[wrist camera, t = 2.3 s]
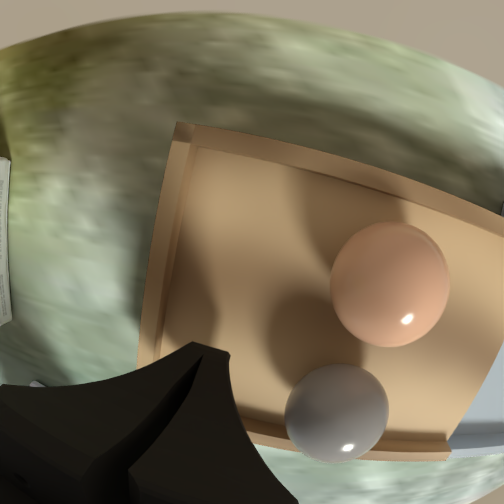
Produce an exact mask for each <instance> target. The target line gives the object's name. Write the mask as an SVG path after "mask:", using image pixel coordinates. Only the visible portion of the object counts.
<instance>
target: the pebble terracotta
mask: <svg viewBox="0 0 504 504" xmlns="http://www.w3.org/2000/svg"><path fill="white" fill-rule="evenodd" d="M449 293H450V273H449V268H448V264H447V261H446V259H445V257H444V254H443V252H442V250H441V249H440V247H439V246H438V244H437V243H436V242H435V241H434V240H433V239H432V238H431V237H430V236H429V235H428V234H427V233H425V232H424V231H422V230H421V229H419V228H417V227H415V226H413V225H410V224H407V223H403V222H395V221H386V222H380V223H375V224H372V225H370V226H367V227H365V228H363V229H361V230H360V231H358V232H357V233H355V234H354V235H353V236H352V237H351V238H350V239H348V241H347V242H346V243H345V244H344V245H343V247H342V248H341V250H340V251H339V253H338V255H337V257H336V259H335V261H334V264H333V267H332V271H331V276H330V294H331V301H332V304H333V307H334V310H335V312H336V314H337V316H338V318H339V320H340V321H341V323H342V324H343V325H344V327H345V328H346V329H347V330H348V331H349V332H350V333H352V334H353V335H354V336H355V337H357V338H358V339H360V340H362V341H364V342H366V343H368V344H371V345H375V346H379V347H398V346H403V345H406V344H409V343H412V342H414V341H416V340H418V339H419V338H421V337H422V336H424V335H425V334H427V333H428V332H429V331H430V330H431V329H432V328H433V327H434V326H435V325H436V323H437V322H438V320H439V319H440V317H441V316H442V314H443V312H444V310H445V307H446V305H447V301H448V298H449Z"/></svg>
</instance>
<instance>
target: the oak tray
mask: <svg viewBox="0 0 504 504" xmlns="http://www.w3.org/2000/svg"><path fill="white" fill-rule="evenodd" d="M386 221H395V222H403V223H407V224H410V225H413V226H415V227H417V228H419V229H421V230H422V231H424V232H425V233H427V234H428V235H429V236H430V237H431V238H432V239H433V240H434V241H435V242H436V243H437V244H438V246H439V247H440V249H441V250H442V252H443V254H444V257H445V259H446V261H447V264H448V268H449V273H450V293H449V298H448V301H447V305H446V307H445V310H444V312H443V314H442V316H441V317H440V319H439V320H438V322H437V323H436V325H435V326H434V327H433V328H432V329H431V330H430V331H429V332H428V333H427V334H425V335H424V336H422V337H421V338H419V339H418V340H416V341H414V342H412V343H409V344H406V345H403V346H398V347H379V346H375V345H371V344H368V343H366V342H364V341H362V340H360V339H358V338H357V337H355V336H354V335H353V334H352V333H350V332H349V331H348V330H347V329H346V328H345V327H344V325H343V324H342V323H341V321H340V320H339V318H338V316H337V314H336V312H335V310H334V307H333V304H332V301H331V294H330V276H331V271H332V267H333V264H334V261H335V259H336V257H337V255H338V253H339V251H340V250H341V248H342V247H343V245H344V244H345V243H346V242H347V241H348V239H350V238H351V237H352V236H353V235H354V234H355V233H357V232H358V231H360V230H361V229H363V228H365V227H367V226H370V225H372V224H375V223H380V222H386ZM192 341H193V342H197V343H200V344H203V345H207V346H210V347H214V348H217V349H221V350H224V351H228V352H229V354H230V355H231V357H230V361H229V372H230V380H231V386H232V391H233V395H234V399H235V403H236V406H237V409H238V412H239V415H240V418H241V420H242V422H243V425H244V427H245V429H246V431H247V433H248V435H249V437H250V439H251V441H252V443H254V444H259V445H264V446H268V447H273V448H279V449H284V450H290V451H295V452H300V451H299V450H298V449H297V448H296V447H295V446H294V445H293V443H292V442H291V440H290V438H289V436H288V434H287V431H286V427H285V421H284V412H285V405H286V402H287V399H288V397H289V395H290V392H291V391H292V389H293V388H294V386H295V385H296V384H297V383H298V382H299V380H301V379H302V378H303V377H304V376H305V375H306V374H308V373H309V372H311V371H313V370H314V369H316V368H319V367H321V366H325V365H328V364H335V363H346V364H352V365H356V366H359V367H361V368H364V369H365V370H367V371H369V372H370V373H371V374H373V375H374V376H375V377H376V378H377V379H378V380H379V381H380V383H381V384H382V386H383V388H384V389H385V392H386V394H387V397H388V402H389V418H388V423H387V426H386V428H385V431H384V433H383V435H382V436H381V438H380V439H379V441H378V442H377V443H376V444H375V445H374V446H373V447H372V448H371V449H370V450H369V451H368V452H366V453H365V454H364V455H362V456H360V457H358V458H356V459H361V460H377V461H446V459H447V458H448V457H449V455H450V454H451V453H452V450H451V448H450V447H449V445H448V443H447V440H448V439H449V438H450V436H451V435H452V433H453V432H454V430H455V429H456V427H457V426H458V424H459V423H460V421H461V420H462V418H463V416H464V415H465V413H466V412H467V410H468V408H469V407H470V405H471V403H472V402H473V400H474V398H475V397H476V395H477V393H478V391H479V389H480V388H481V386H482V384H483V382H484V380H485V378H486V377H487V375H488V373H489V371H490V369H491V367H492V365H493V363H494V361H495V359H496V357H497V355H498V352H499V350H500V348H501V346H502V344H503V341H504V217H502V216H500V215H497V214H495V213H493V212H491V211H489V210H486V209H484V208H482V207H480V206H477V205H475V204H473V203H471V202H468V201H466V200H463V199H461V198H459V197H456V196H454V195H451V194H449V193H446V192H444V191H441V190H439V189H436V188H434V187H431V186H428V185H426V184H423V183H420V182H418V181H415V180H412V179H409V178H406V177H404V176H401V175H398V174H395V173H392V172H389V171H386V170H383V169H380V168H377V167H374V166H371V165H367V164H364V163H361V162H358V161H354V160H351V159H348V158H344V157H341V156H337V155H334V154H330V153H326V152H323V151H319V150H315V149H311V148H308V147H304V146H300V145H296V144H292V143H287V142H283V141H279V140H275V139H270V138H266V137H261V136H256V135H252V134H247V133H242V132H237V131H231V130H226V129H221V128H215V127H209V126H203V125H197V124H191V123H184V122H177V123H176V127H175V131H174V135H173V139H172V143H171V147H170V151H169V155H168V160H167V164H166V169H165V173H164V178H163V183H162V187H161V192H160V197H159V202H158V208H157V213H156V218H155V224H154V229H153V235H152V241H151V247H150V254H149V260H148V267H147V274H146V281H145V289H144V297H143V305H142V314H141V323H140V333H139V344H138V356H137V369H140V368H142V367H144V366H147V365H149V364H151V363H153V362H155V361H157V360H159V359H161V358H163V357H165V356H167V355H169V354H170V353H172V352H174V351H176V350H177V349H179V348H181V347H183V346H184V345H186V344H188V343H190V342H192Z"/></svg>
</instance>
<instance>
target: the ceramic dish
mask: <svg viewBox="0 0 504 504" xmlns="http://www.w3.org/2000/svg"><path fill="white" fill-rule="evenodd" d="M501 216H502V217H504V203H503V208H502V213H501ZM447 443H448V445H449V447H450V448H451V450H452V453H451V454H450V455H449V457H448V458H463V457H474V456H484V455H492V454H500V453H504V341H503V344H502V346H501V348H500V350H499V352H498V355H497V357H496V359H495V361H494V363H493V365H492V367H491V369H490V371H489V373H488V375H487V377H486V378H485V380H484V382H483V384H482V386H481V388H480V389H479V391H478V393H477V395H476V397H475V398H474V400H473V402H472V403H471V405H470V407H469V408H468V410H467V412H466V413H465V415H464V416H463V418H462V420H461V421H460V423H459V424H458V426H457V427H456V429H455V430H454V432H453V433H452V435H451V436H450V438H449V439H448V440H447Z"/></svg>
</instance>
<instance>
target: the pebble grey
mask: <svg viewBox="0 0 504 504" xmlns="http://www.w3.org/2000/svg"><path fill="white" fill-rule="evenodd" d="M388 418H389V402H388V397H387V394H386V392H385V389H384V388H383V386H382V384H381V383H380V381H379V380H378V379H377V378H376V377H375V376H374V375H373V374H371V373H370V372H369V371H367V370H365V369H364V368H361V367H359V366H356V365H352V364H346V363H335V364H328V365H325V366H321V367H319V368H316V369H314V370H313V371H311V372H309V373H308V374H306V375H305V376H304V377H303V378H302V379H301V380H299V382H298V383H297V384H296V385H295V386H294V388H293V389H292V391H291V392H290V395H289V397H288V399H287V402H286V405H285V412H284V421H285V427H286V431H287V434H288V436H289V438H290V440H291V442H292V443H293V445H294V446H295V447H296V448H297V449H298V450H299V451H300V452H301V453H303V454H304V455H306V456H307V457H309V458H311V459H313V460H316V461H319V462H323V463H343V462H347V461H351V460H353V459H356V458H358V457H360V456H362V455H364V454H365V453H366V452H368V451H369V450H370V449H371V448H372V447H373V446H374V445H375V444H376V443H377V442H378V441H379V439H380V438H381V436H382V435H383V433H384V431H385V428H386V426H387V423H388Z"/></svg>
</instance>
